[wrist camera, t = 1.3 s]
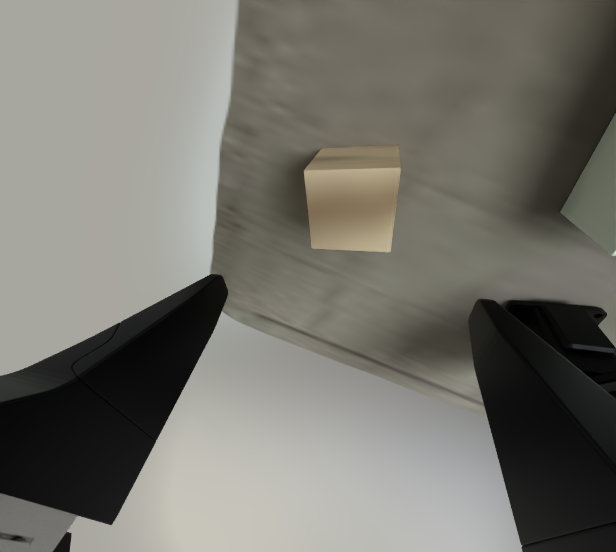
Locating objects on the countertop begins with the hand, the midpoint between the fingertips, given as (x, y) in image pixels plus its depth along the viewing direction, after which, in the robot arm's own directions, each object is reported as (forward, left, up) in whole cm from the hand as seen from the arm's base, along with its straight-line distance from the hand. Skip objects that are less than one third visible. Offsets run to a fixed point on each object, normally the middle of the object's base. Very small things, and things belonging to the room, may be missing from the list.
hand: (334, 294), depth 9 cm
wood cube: (0, 0, -12) cm, 12 cm away
